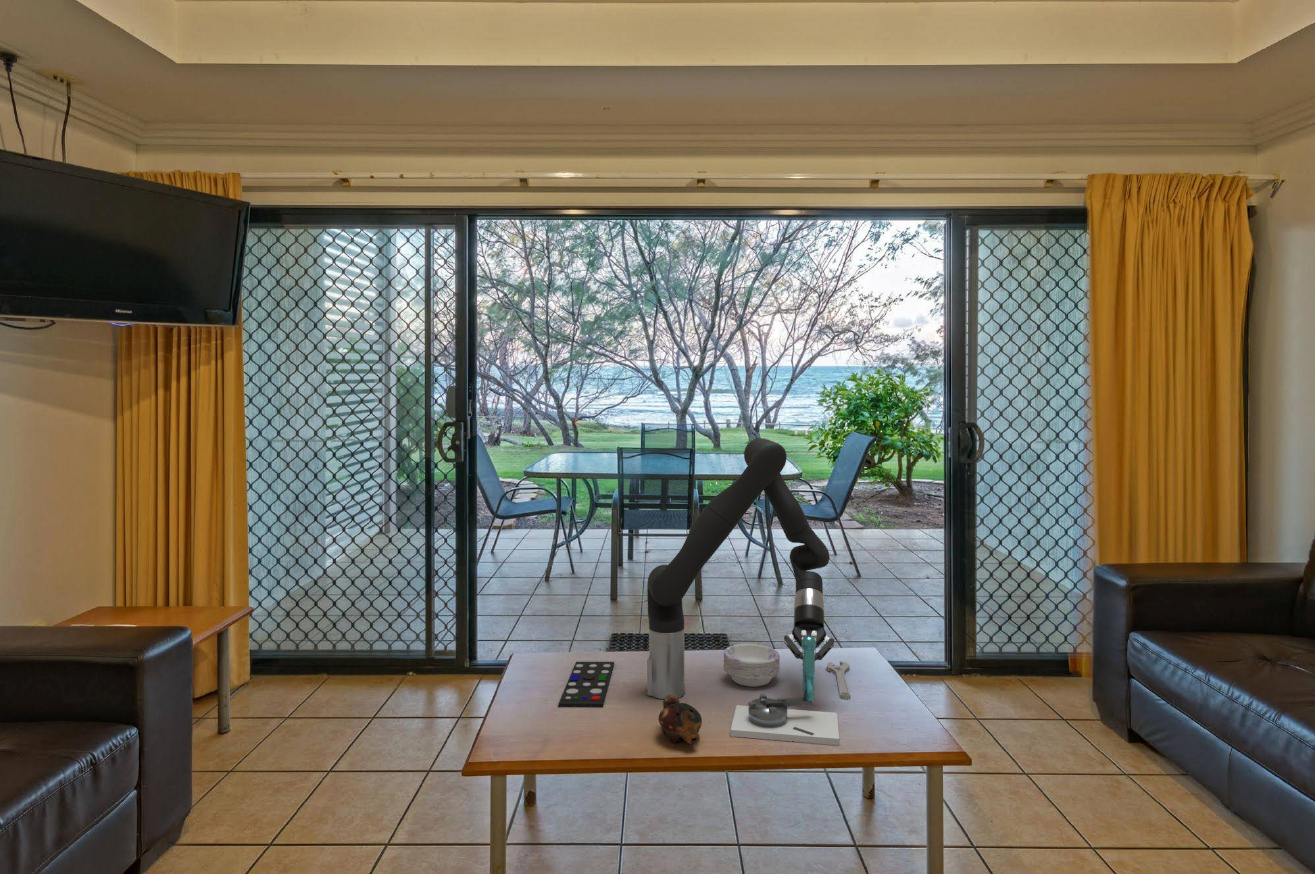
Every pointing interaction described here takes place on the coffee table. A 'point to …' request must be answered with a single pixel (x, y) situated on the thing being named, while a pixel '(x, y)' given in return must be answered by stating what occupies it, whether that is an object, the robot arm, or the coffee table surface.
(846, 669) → the adjustable wrench
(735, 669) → the paper bowls
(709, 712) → the coffee table surface
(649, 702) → the coffee table surface
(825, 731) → the white rectangular board
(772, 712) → the teal handled crank
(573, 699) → the remote control
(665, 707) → the decorative turtle
